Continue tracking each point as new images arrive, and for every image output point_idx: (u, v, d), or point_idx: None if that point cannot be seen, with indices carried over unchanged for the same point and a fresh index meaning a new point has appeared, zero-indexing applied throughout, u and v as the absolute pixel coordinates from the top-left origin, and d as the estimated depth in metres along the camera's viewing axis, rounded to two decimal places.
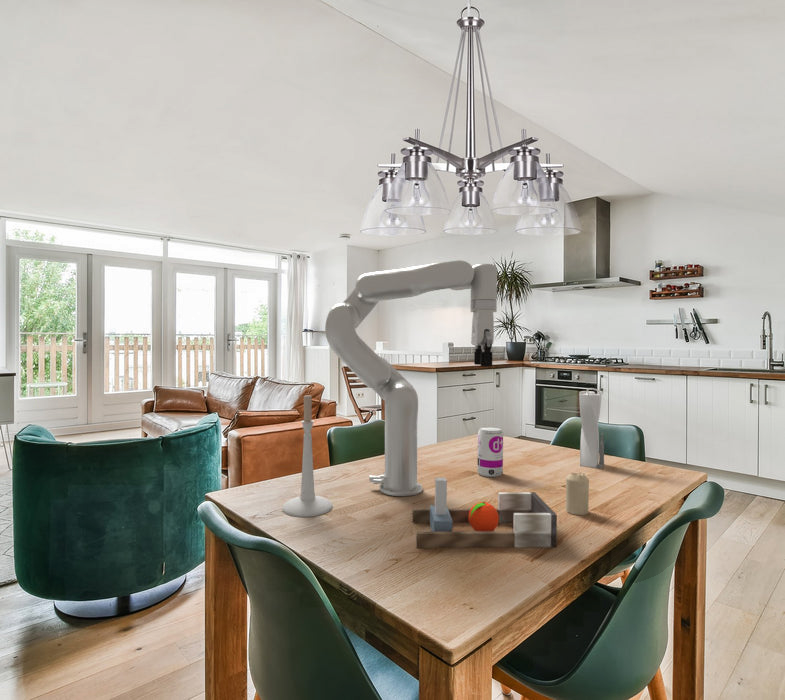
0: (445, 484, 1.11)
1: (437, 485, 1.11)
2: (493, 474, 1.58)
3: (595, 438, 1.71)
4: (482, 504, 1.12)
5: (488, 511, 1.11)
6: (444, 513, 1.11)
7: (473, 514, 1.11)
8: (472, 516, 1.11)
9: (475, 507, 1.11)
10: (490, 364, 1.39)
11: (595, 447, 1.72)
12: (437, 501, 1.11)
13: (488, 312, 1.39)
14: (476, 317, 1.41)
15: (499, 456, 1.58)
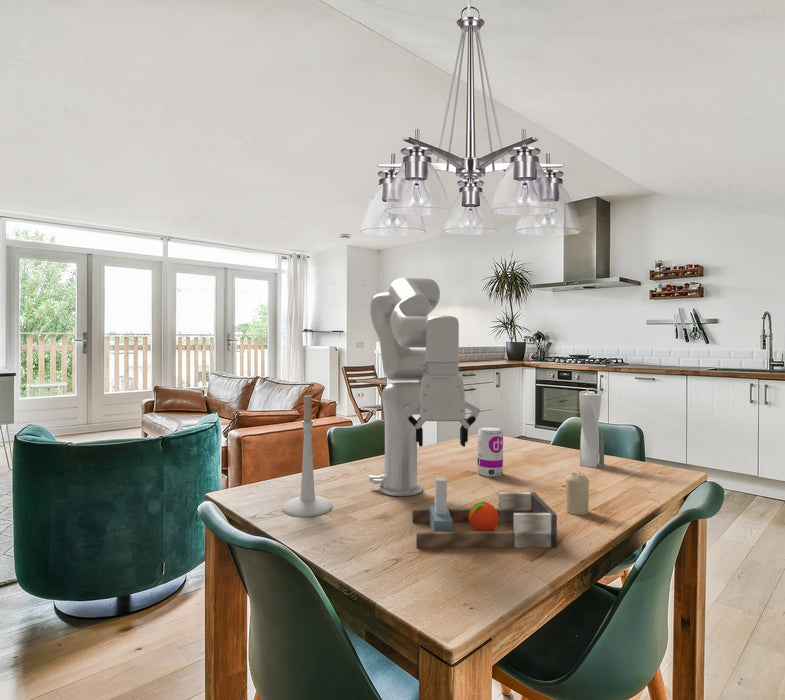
0: (445, 484, 1.11)
1: (437, 485, 1.11)
2: (493, 474, 1.58)
3: (595, 438, 1.71)
4: (482, 504, 1.12)
5: (488, 511, 1.11)
6: (444, 513, 1.11)
7: (473, 514, 1.11)
8: (472, 516, 1.11)
9: (475, 507, 1.11)
10: None
11: (595, 447, 1.72)
12: (437, 501, 1.11)
13: None
14: (456, 385, 1.09)
15: (499, 456, 1.58)
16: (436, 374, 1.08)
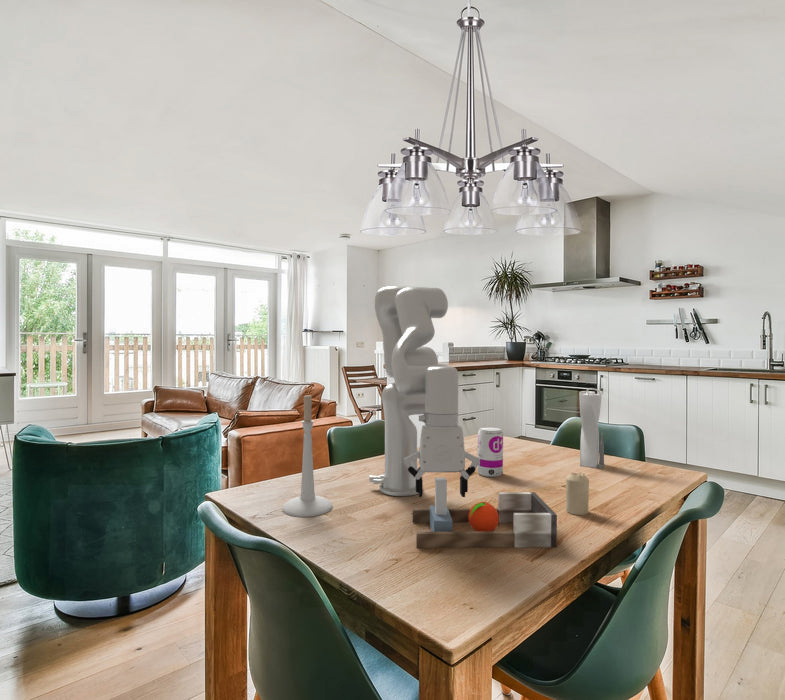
0: (445, 484, 1.11)
1: (437, 485, 1.11)
2: (493, 474, 1.58)
3: (595, 438, 1.71)
4: (482, 504, 1.12)
5: (488, 511, 1.11)
6: (444, 513, 1.11)
7: (473, 514, 1.11)
8: (472, 516, 1.11)
9: (475, 507, 1.11)
10: None
11: (595, 447, 1.72)
12: (437, 501, 1.11)
13: None
14: (456, 436, 1.09)
15: (499, 456, 1.58)
16: (436, 426, 1.09)
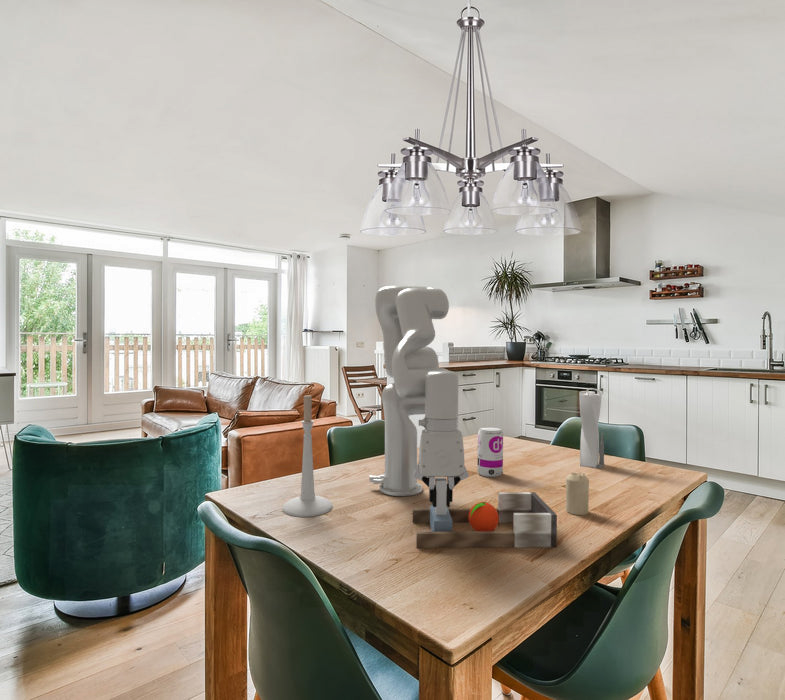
0: (445, 484, 1.11)
1: (437, 485, 1.11)
2: (493, 474, 1.58)
3: (595, 438, 1.71)
4: (482, 504, 1.12)
5: (488, 511, 1.11)
6: (444, 513, 1.11)
7: (473, 514, 1.11)
8: (472, 516, 1.11)
9: (475, 507, 1.11)
10: None
11: (595, 447, 1.72)
12: (437, 501, 1.11)
13: None
14: (455, 441, 1.10)
15: (499, 456, 1.58)
16: (435, 430, 1.09)
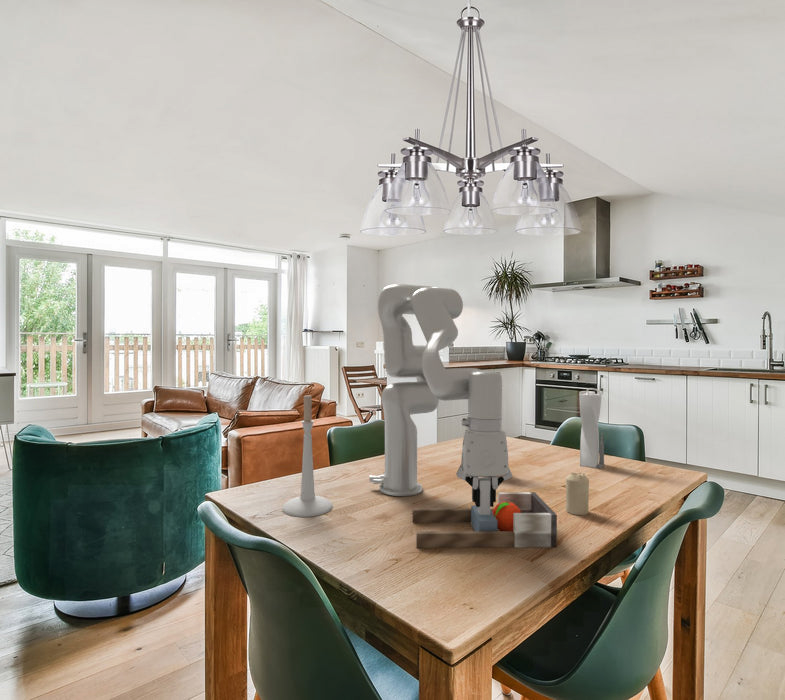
0: (489, 484, 1.11)
1: (481, 485, 1.11)
2: None
3: (595, 438, 1.71)
4: (506, 504, 1.12)
5: (513, 511, 1.11)
6: (488, 513, 1.11)
7: (497, 514, 1.11)
8: (496, 516, 1.11)
9: (499, 507, 1.11)
10: None
11: (595, 447, 1.72)
12: (481, 501, 1.11)
13: None
14: (500, 441, 1.10)
15: None
16: (480, 430, 1.09)
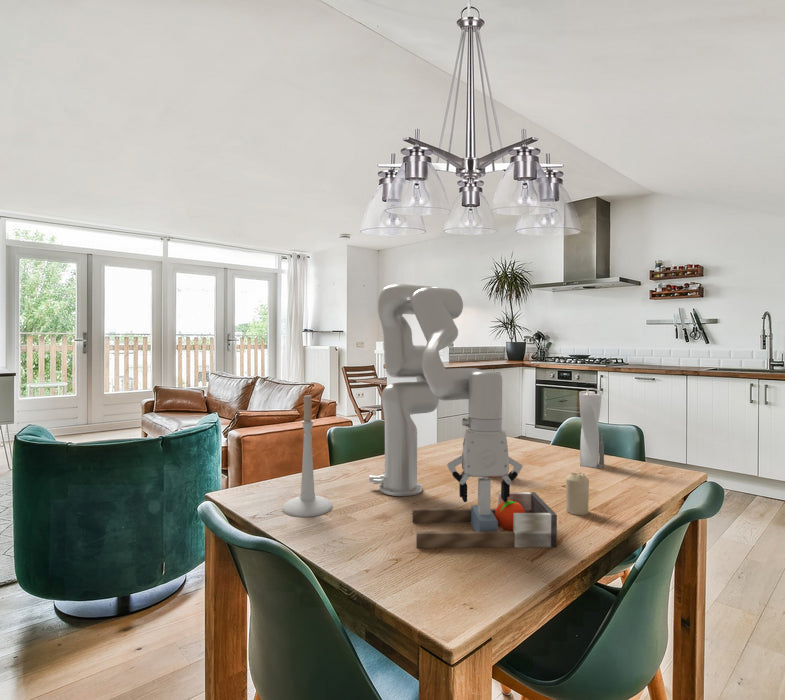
0: (489, 484, 1.11)
1: (481, 485, 1.11)
2: None
3: (595, 438, 1.71)
4: (512, 502, 1.12)
5: (518, 510, 1.11)
6: (488, 513, 1.11)
7: (502, 510, 1.11)
8: (501, 512, 1.11)
9: (506, 503, 1.11)
10: None
11: (595, 447, 1.72)
12: (481, 501, 1.11)
13: None
14: (500, 441, 1.10)
15: None
16: (480, 430, 1.09)
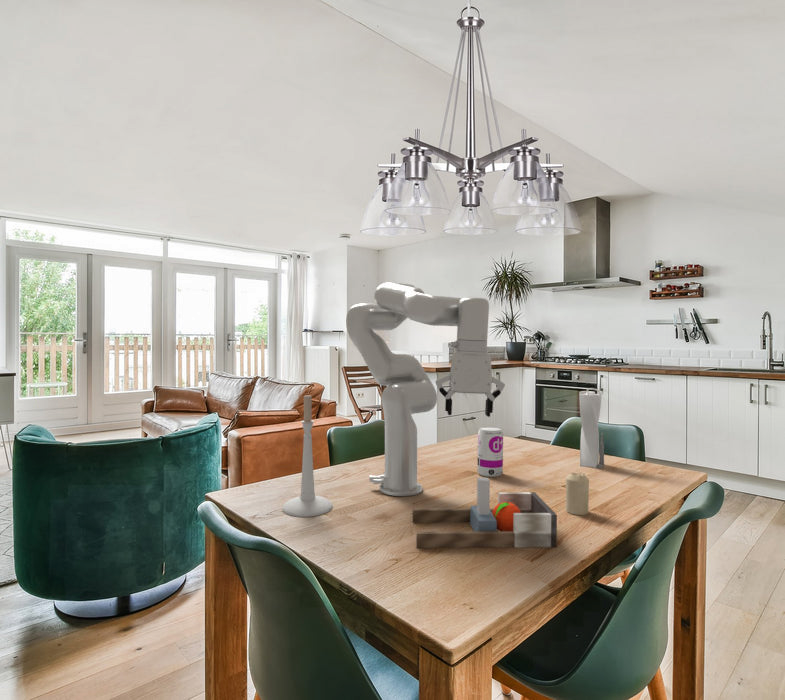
0: (488, 484, 1.11)
1: (480, 485, 1.11)
2: (493, 474, 1.58)
3: (595, 438, 1.71)
4: (506, 504, 1.12)
5: (513, 511, 1.11)
6: (487, 513, 1.11)
7: (497, 514, 1.11)
8: (496, 516, 1.11)
9: (499, 507, 1.11)
10: None
11: (595, 447, 1.72)
12: (480, 501, 1.11)
13: None
14: (484, 361, 1.20)
15: (499, 456, 1.58)
16: (466, 350, 1.20)
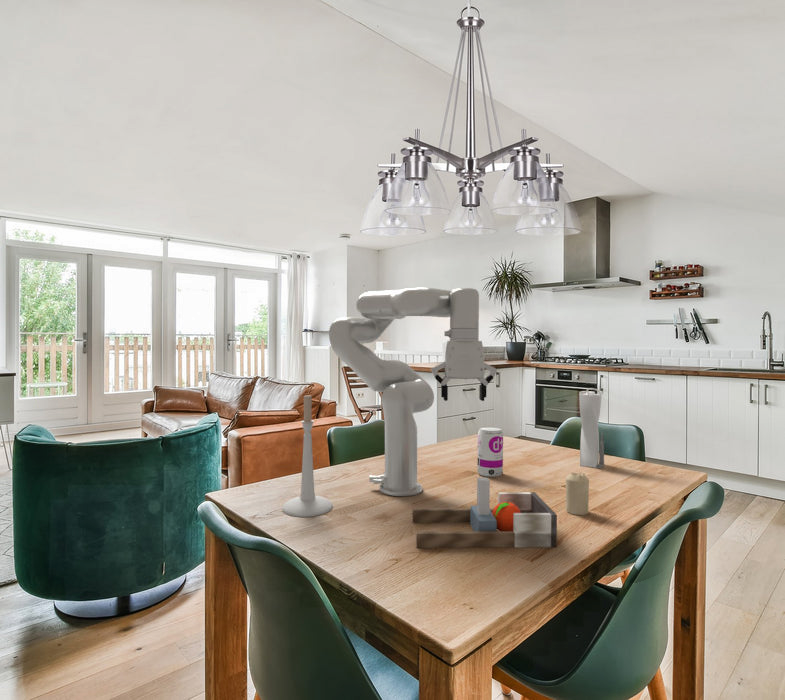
0: (488, 484, 1.11)
1: (480, 485, 1.11)
2: (493, 474, 1.58)
3: (595, 438, 1.71)
4: (506, 504, 1.12)
5: (513, 511, 1.11)
6: (487, 513, 1.11)
7: (497, 514, 1.11)
8: (496, 516, 1.11)
9: (499, 507, 1.11)
10: None
11: (595, 447, 1.72)
12: (480, 501, 1.11)
13: None
14: (477, 347, 1.27)
15: (499, 456, 1.58)
16: (460, 338, 1.26)
